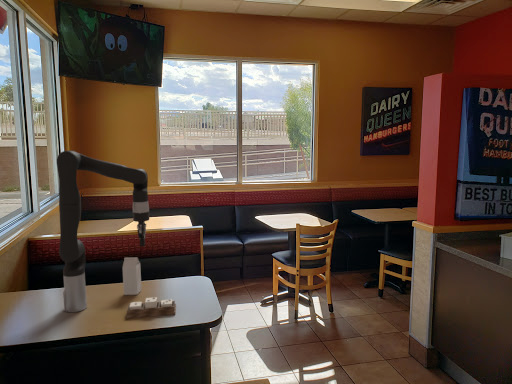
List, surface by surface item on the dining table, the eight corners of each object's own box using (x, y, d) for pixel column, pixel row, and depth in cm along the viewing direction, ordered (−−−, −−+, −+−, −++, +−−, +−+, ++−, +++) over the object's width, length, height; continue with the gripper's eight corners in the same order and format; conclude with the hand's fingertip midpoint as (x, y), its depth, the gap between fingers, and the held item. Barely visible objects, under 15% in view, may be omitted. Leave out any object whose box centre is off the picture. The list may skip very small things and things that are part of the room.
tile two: (145, 308, 183) (145, 301, 183) (146, 304, 188) (146, 297, 188) (156, 307, 184) (156, 301, 184) (157, 303, 189) (157, 296, 188)
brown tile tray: (125, 318, 180) (125, 311, 179) (128, 309, 189) (128, 303, 189) (175, 314, 183) (175, 307, 183) (176, 305, 193) (175, 299, 193)
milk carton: (137, 295, 207) (135, 259, 205) (123, 295, 207) (121, 259, 205) (141, 290, 214) (139, 255, 212) (128, 290, 214) (126, 255, 212)
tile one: (129, 313, 182) (129, 306, 182) (131, 308, 187) (130, 302, 187) (141, 312, 183) (140, 305, 183) (142, 307, 188) (141, 301, 188)
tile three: (161, 310, 185) (160, 304, 184) (161, 306, 189) (161, 299, 189) (172, 309, 185) (171, 303, 185) (172, 305, 190) (172, 299, 190)
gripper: (134, 208, 196) (136, 243, 199) (130, 213, 184) (132, 250, 186) (150, 208, 198) (151, 242, 200) (147, 212, 185) (149, 249, 187)
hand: (142, 246), depth 193 cm, fingers closed
